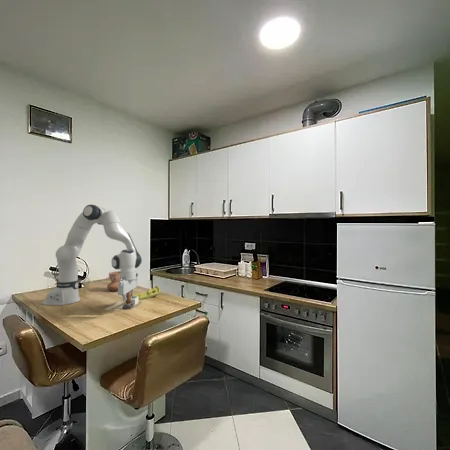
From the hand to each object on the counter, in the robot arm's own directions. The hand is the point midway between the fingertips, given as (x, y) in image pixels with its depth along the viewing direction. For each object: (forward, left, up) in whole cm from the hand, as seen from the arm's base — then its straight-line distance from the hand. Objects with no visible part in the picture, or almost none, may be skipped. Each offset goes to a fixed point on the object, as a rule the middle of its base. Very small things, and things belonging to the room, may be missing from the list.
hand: (128, 298), depth 153 cm
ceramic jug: (-28, +47, -7) cm, 55 cm away
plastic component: (+3, +23, -7) cm, 24 cm away
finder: (0, +8, -6) cm, 10 cm away
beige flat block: (-4, +4, -7) cm, 9 cm away
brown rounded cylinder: (0, 0, -6) cm, 6 cm away
